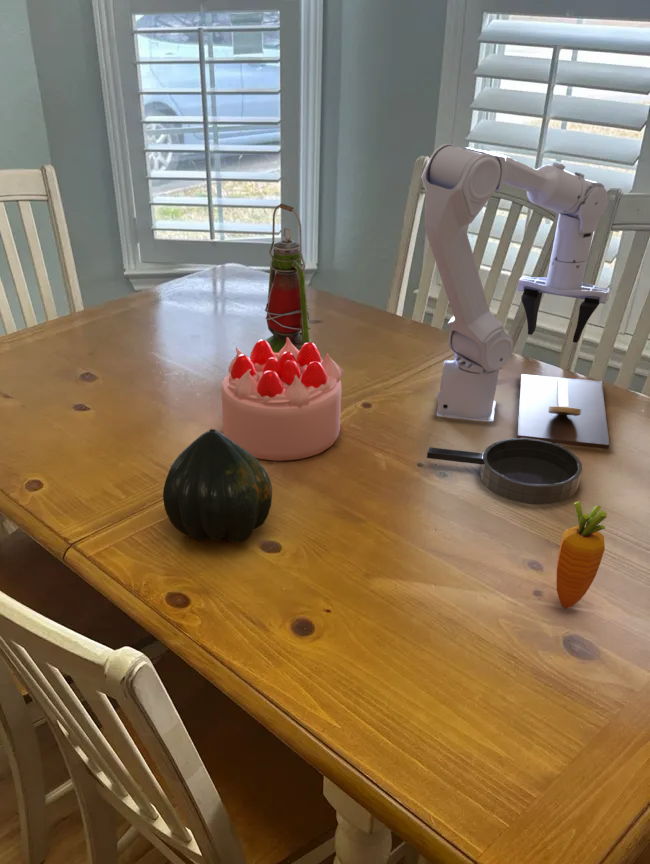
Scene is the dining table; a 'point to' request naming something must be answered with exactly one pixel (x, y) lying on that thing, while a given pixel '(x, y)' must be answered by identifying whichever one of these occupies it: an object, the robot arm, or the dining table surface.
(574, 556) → the carrot
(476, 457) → the pan handle
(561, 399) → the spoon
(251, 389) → the cake
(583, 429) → the board
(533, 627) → the dining table surface
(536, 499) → the pan
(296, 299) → the lantern
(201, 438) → the squash
